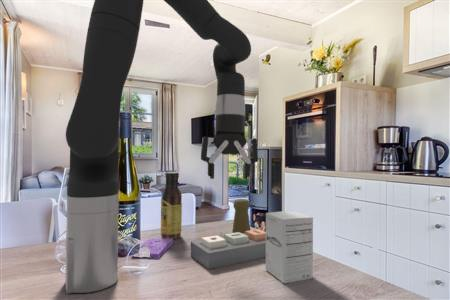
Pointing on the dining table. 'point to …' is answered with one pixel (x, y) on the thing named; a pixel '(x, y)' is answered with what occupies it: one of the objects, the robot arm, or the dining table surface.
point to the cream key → (213, 242)
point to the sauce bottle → (171, 207)
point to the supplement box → (289, 246)
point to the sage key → (236, 238)
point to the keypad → (228, 253)
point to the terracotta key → (256, 235)
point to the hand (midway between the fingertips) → (228, 178)
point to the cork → (241, 216)
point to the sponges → (157, 246)
